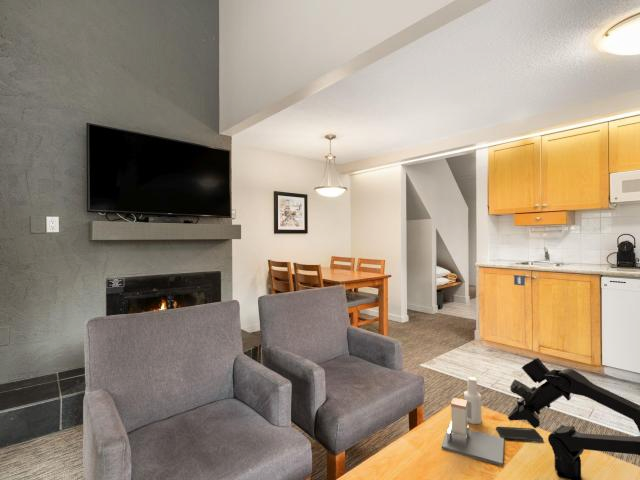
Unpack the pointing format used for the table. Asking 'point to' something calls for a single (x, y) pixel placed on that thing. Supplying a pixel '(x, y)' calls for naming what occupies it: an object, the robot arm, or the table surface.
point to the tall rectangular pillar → (459, 416)
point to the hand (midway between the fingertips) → (508, 418)
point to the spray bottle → (473, 402)
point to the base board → (479, 447)
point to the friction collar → (457, 437)
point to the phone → (519, 434)
